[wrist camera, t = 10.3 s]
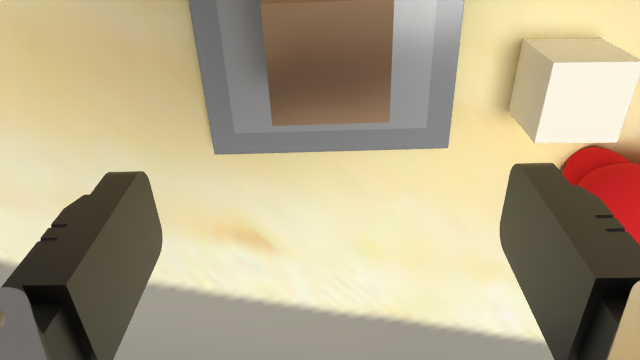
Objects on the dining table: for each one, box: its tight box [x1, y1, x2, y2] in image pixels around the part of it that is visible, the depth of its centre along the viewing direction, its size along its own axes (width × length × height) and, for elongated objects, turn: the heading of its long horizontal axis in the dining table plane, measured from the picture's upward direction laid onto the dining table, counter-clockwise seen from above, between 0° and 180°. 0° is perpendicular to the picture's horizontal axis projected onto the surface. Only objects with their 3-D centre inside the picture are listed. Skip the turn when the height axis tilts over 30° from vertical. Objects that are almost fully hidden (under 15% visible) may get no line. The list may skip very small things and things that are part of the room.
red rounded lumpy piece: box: [563, 147, 640, 245], centre depth 27 cm, size 8×6×6 cm
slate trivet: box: [189, 0, 464, 154], centre depth 24 cm, size 13×13×1 cm
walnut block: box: [260, 0, 394, 126], centre depth 22 cm, size 5×5×5 cm
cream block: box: [508, 38, 640, 143], centre depth 24 cm, size 4×4×4 cm
